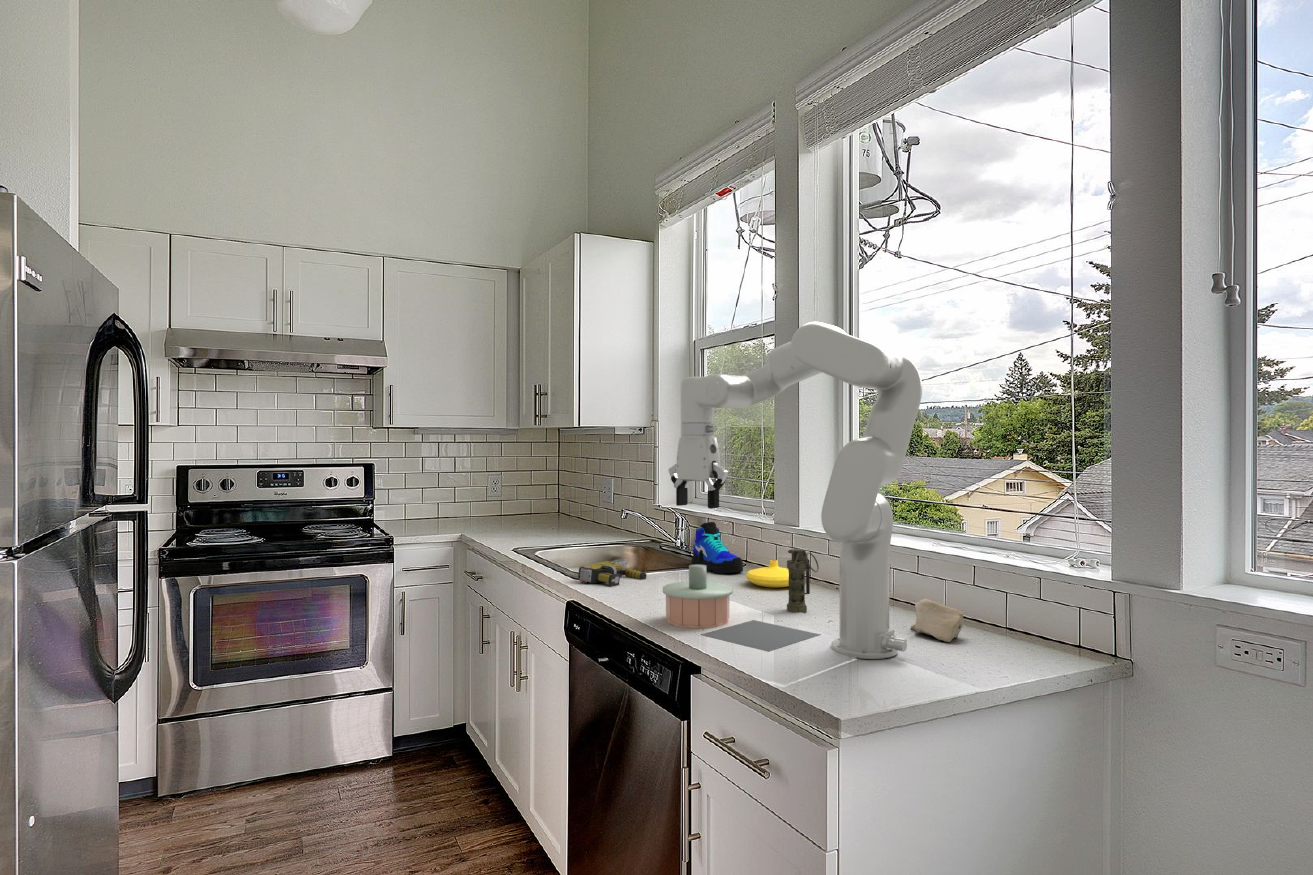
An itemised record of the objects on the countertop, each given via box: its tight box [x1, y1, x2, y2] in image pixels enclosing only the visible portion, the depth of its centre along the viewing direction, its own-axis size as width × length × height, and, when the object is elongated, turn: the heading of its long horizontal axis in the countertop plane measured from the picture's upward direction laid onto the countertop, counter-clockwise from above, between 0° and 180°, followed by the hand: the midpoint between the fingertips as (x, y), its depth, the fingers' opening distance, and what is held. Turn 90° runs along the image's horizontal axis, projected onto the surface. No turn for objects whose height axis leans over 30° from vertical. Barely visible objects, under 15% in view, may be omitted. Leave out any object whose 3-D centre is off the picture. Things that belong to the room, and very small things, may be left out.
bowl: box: [665, 594, 730, 629], centre depth 177 cm, size 14×14×7 cm
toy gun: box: [577, 559, 648, 587], centre depth 231 cm, size 5×24×15 cm
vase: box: [745, 559, 789, 589], centre depth 220 cm, size 16×16×7 cm
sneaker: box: [690, 521, 744, 575], centre depth 245 cm, size 9×24×15 cm, turn 27°
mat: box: [699, 619, 822, 652], centre depth 165 cm, size 18×18×1 cm
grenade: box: [786, 548, 819, 614], centre depth 187 cm, size 9×6×15 cm, turn 118°
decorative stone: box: [910, 598, 964, 643], centre depth 165 cm, size 7×13×7 cm, turn 33°
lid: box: [662, 564, 734, 599], centre depth 177 cm, size 16×16×6 cm
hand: (697, 506), depth 177 cm, fingers open, 9 cm apart
